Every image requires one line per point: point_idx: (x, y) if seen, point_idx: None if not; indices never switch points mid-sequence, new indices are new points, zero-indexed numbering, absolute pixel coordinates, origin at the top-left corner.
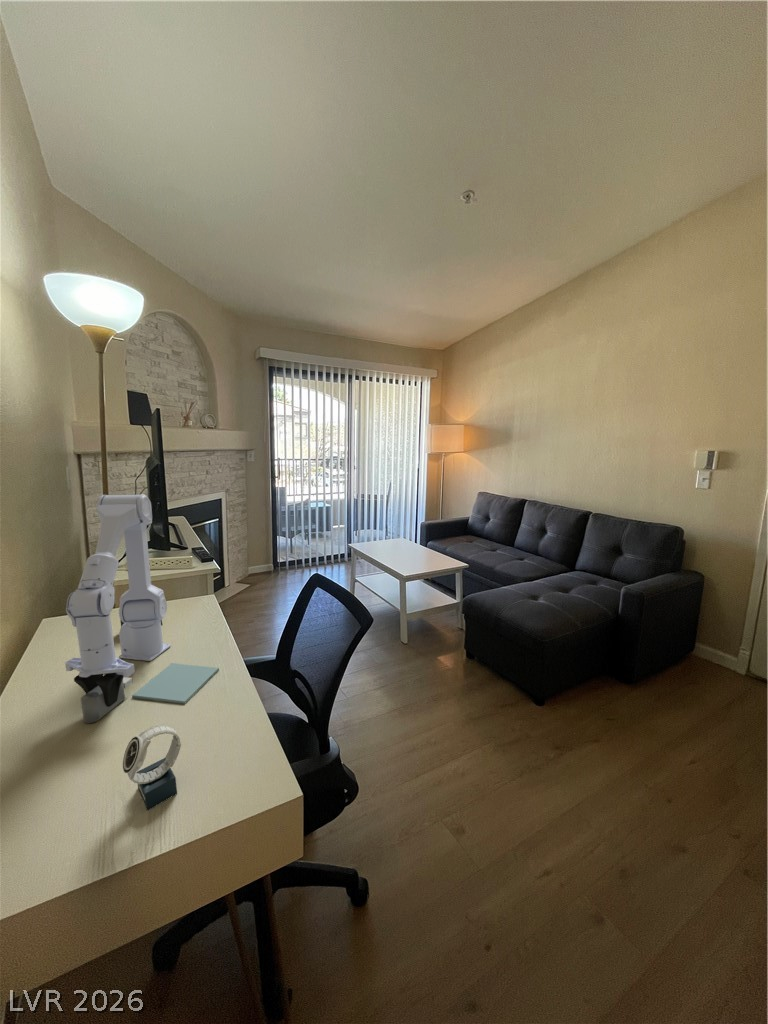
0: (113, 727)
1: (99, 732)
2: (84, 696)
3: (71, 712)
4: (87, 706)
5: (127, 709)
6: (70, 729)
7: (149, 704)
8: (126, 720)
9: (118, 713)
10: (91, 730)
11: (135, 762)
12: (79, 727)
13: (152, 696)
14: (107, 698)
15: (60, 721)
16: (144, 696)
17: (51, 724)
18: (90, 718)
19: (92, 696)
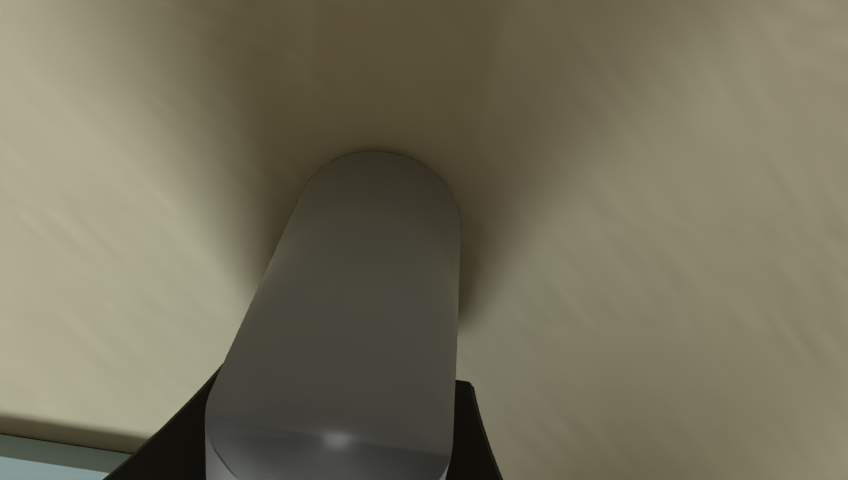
0: (48, 98)
1: (133, 18)
2: (425, 442)
3: (698, 321)
4: (301, 279)
5: (149, 341)
6: (525, 70)
7: (3, 391)
8: (11, 199)
9: (188, 294)
10: (257, 52)
11: None
12: (441, 102)
13: (28, 469)
14: (173, 419)
15: (736, 198)
16: (97, 472)
17: (816, 154)
18: (329, 184)
19: (291, 436)
